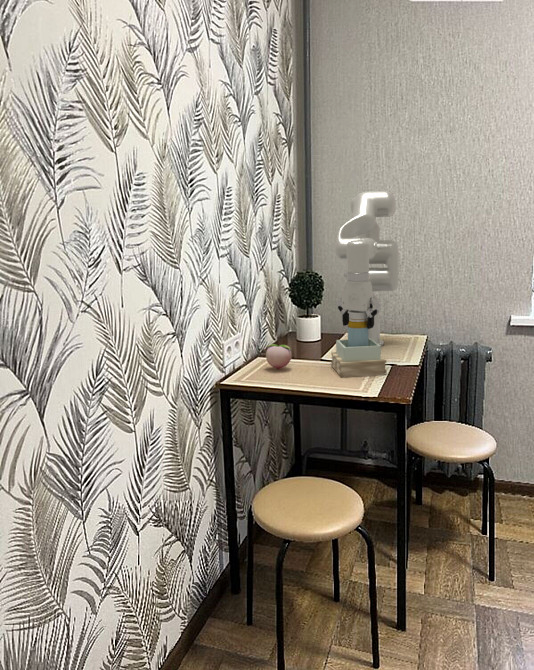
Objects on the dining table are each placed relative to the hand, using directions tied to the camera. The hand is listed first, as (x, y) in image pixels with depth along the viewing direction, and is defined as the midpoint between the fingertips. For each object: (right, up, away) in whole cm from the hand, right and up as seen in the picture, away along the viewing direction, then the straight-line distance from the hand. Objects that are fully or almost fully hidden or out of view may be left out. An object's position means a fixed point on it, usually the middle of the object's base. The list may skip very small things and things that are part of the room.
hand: (358, 326), depth 213 cm
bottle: (0, -10, +2) cm, 10 cm away
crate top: (0, -10, +1) cm, 10 cm away
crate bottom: (0, -15, +3) cm, 15 cm away
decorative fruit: (-27, -15, +7) cm, 32 cm away
